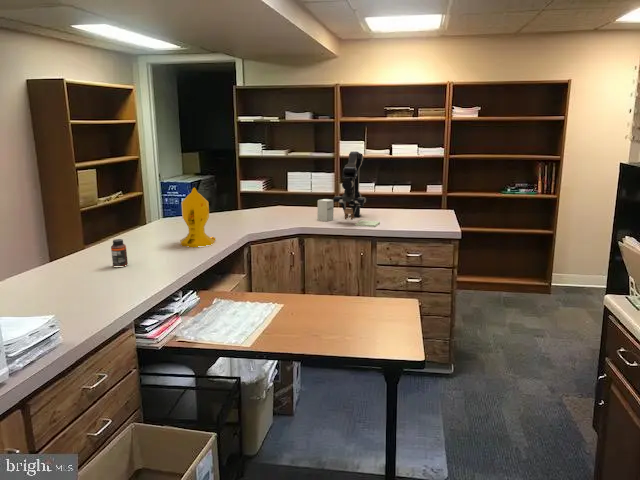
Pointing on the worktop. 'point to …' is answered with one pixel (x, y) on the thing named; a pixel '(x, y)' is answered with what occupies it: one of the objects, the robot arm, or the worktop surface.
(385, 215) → the worktop surface
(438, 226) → the worktop surface
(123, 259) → the supplement bottle
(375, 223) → the sage mat
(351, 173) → the robot arm
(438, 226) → the worktop surface
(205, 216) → the yellow pointed sculpture
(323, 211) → the supplement box
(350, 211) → the toy stool
